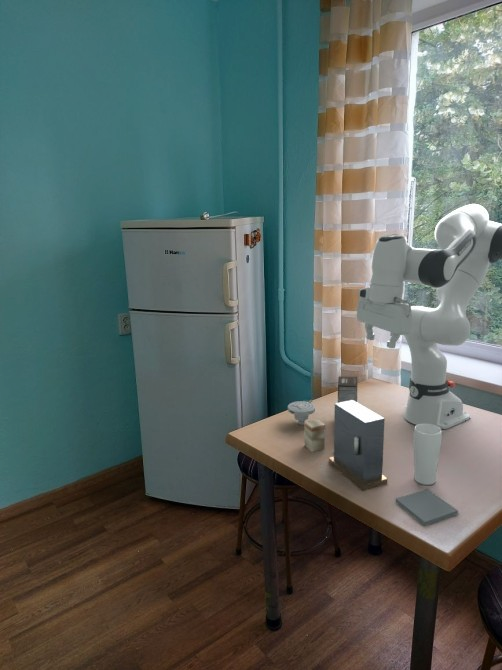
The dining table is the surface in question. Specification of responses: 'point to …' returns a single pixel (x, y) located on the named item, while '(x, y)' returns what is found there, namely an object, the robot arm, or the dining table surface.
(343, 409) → the cabinet
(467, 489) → the dining table surface
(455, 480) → the dining table surface
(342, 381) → the coffee box
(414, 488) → the dining table surface
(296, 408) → the showerhead
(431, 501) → the mat
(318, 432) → the block
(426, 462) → the drinking glass
